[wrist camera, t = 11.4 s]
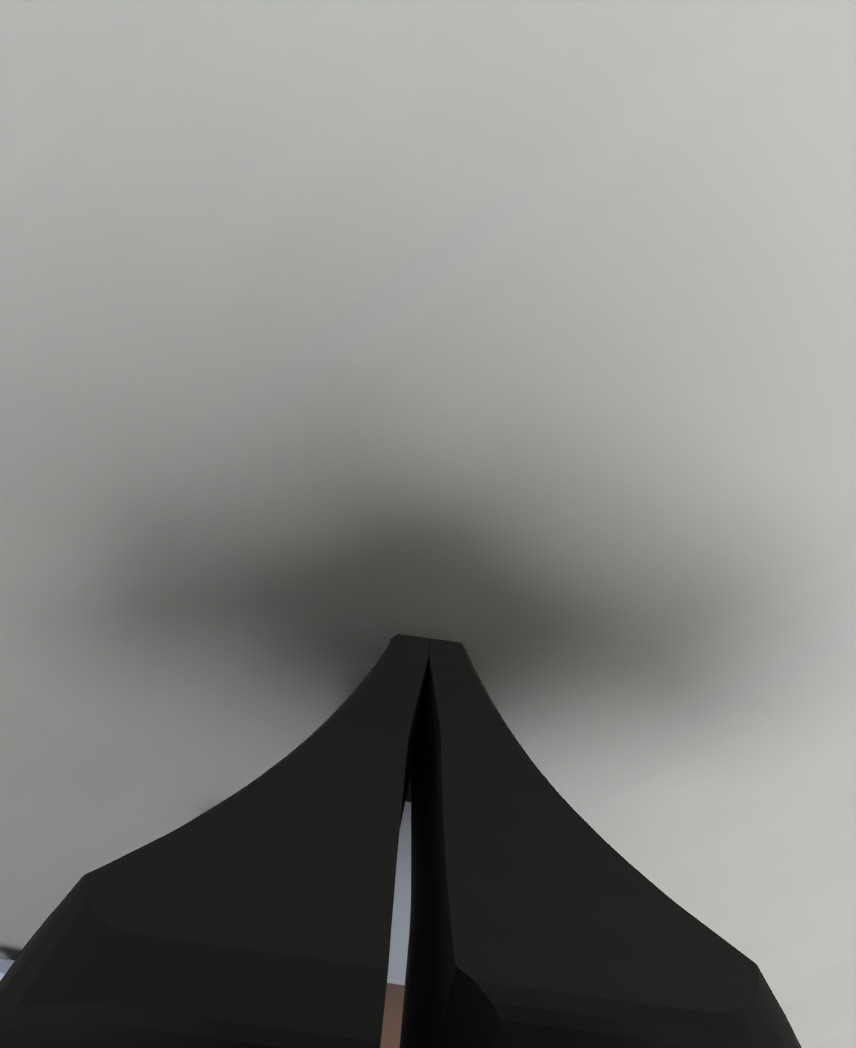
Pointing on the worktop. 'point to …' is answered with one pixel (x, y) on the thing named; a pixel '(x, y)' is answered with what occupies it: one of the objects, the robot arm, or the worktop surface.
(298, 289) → the worktop surface
